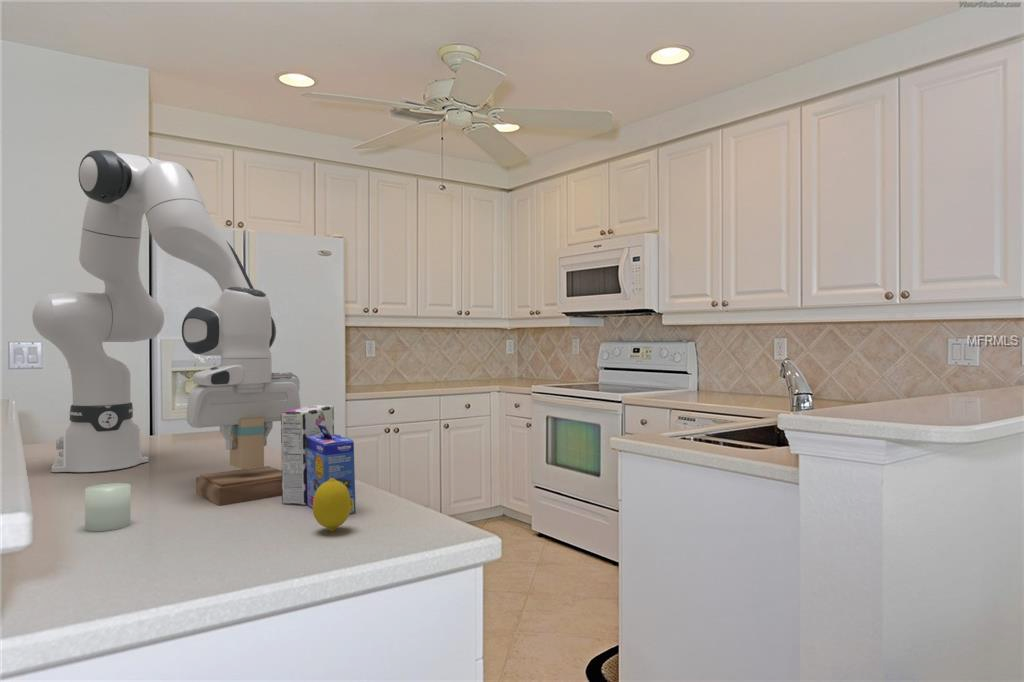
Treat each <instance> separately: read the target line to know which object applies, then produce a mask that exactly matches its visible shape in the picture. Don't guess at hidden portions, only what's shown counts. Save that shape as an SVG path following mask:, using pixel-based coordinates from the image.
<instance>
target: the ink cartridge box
mask: <svg viewBox="0 0 1024 682" xmlns="http://www.w3.org/2000/svg"><path fill="white" fill-rule="evenodd" d="M317 425H318V427H319V429H320V430H321V432H322V433H323V435H312V436H306V450H307V506H308V507H310V508H311V509H313V499H314V495H315V493H316V491H317V489H318V487H319V486H320V485H321V484H323V483H324V482H326V481H328V480H329V479H330V478H334V479H335V480H336V481H339V482H341V483H343V484H344V485H345V486H346V487H347V489H348V491H349V494H350V499H351V509H350V514H354V513H356V510H357V505H356V503H357V501H356V469H355V467H356V466H355V442H354V440H352V439H351V438H349V437H343V436H341V435H339V434H335V433H334V434H330V432H329V431H328V430H327V428H326V427H325V426H322V425H319V424H317ZM323 429H324V430H325V431H326V432H324V431H323Z"/></svg>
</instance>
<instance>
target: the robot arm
mask: <svg viewBox="0 0 1024 682" xmlns="http://www.w3.org/2000/svg"><path fill="white" fill-rule="evenodd" d="M78 183H79V185H80V189H81V190H82V191H83V193H84V195H85V196H86V197H88V200H87V202H86V206H85V210H84V216H83V221H82V228H81V238H80V245H79V256H78V260H79V263H80V266H81V267H82V268H83V270H84V271H86V272H87V273H88V274H90V275H91V276H93V277H95V278H97V279H99V280H101V281H102V282H103V284H104V292H100V293H99V292H80V291H64V292H55V293H48V294H47V293H46V294H44V295H43V296H41V298H39V300H38V301H37V302H36V303H35V304H34V307H33V310H32V317H31V318H32V319H31V320H32V323H33V325H34V328H35V330H36V331H37V332H38V334H39V335H40V336H41V337H42V338H43V339H45V340H47V341H49V342H50V343H52V344H53V345H54V346H55V347H56V348H57V349H58V350H59V351H60V352H61V354H62V355H63V357H64V358H65V360H66V362H67V364H68V366H69V370H70V375H71V376H70V377H71V387H72V388H71V390H72V404H71V405H70V406H69V407H70V409H69V413H68V414H69V421H70V424H69V426H68V428H67V429H66V430H65V431H64V432H63V436H59V438H58V439H56V441H55V449H56V451H59V452H58V457H55V458H54V461H53V463H52V464H51V465H52V466H51V469H50V472H51V473H67V472H68V473H90V472H93V473H95V472H105V471H114V470H120V469H126V468H130V467H134V466H138V465H140V464H144V463H148V462H149V461H150V460H149V456H146V455H142V444H141V442H142V441H141V440H142V439H141V428H140V426H138V424H137V423H135V422H134V421H133V420H132V418H133V417H134V413H133V412H134V407H133V402H132V401H131V372H130V369H129V368H128V366H127V365H126V364H125V363H123V362H122V361H120V360H117V359H116V358H113V357H112V356H109V355H107V353H106V352H105V349H104V345H103V343H135V342H140V341H141V342H142V341H147V340H151V339H154V338H156V337H157V336H158V335H159V334H160V333H161V332H162V329H163V327H164V324H165V313H164V310H163V308H162V306H161V305H160V303H159V302H158V301H157V300H156V299H154V298H153V297H152V296H151V295H150V294H149V293H148V291H147V290H146V289H145V287H144V285H143V283H142V280H141V277H140V272H139V262H140V261H139V260H140V259H139V258H140V248H141V247H140V245H141V237H142V227H143V226H142V225H143V217H144V215H145V218H146V222H147V225H148V228H149V232H150V234H151V236H152V239H153V240H154V241H155V243H156V244H157V246H158V247H159V248H160V249H161V250H162V251H164V252H165V253H166V254H168V255H170V256H171V257H173V258H176V259H179V260H181V261H184V262H186V263H189V264H190V265H193V266H195V267H197V268H199V269H200V270H202V271H204V272H206V273H207V274H209V275H210V276H212V277H211V278H213V279H214V280H215V282H217V284H218V286H219V289H220V291H221V294H220V295H219V297H217V298H216V299H214V300H212V301H210V302H209V303H206V304H204V305H200V306H196V307H193V308H192V309H190V310H189V311H188V312H187V313H186V315H185V316H184V318H183V320H182V325H181V337H182V341H183V343H184V345H185V347H186V348H187V349H188V351H190V352H191V353H192V354H194V355H200V356H205V357H207V356H208V357H209V356H210V357H211V356H213V357H214V356H215V357H216V356H220V364H218V365H215V366H213V367H209V368H207V369H204V370H200V371H197V372H195V373H194V374H193V375H192V382H193V384H195V386H194V387H192V389H191V390H190V391H189V395H188V399H187V405H186V406H187V407H186V422H187V424H189V426H190V427H191V428H195V429H202V428H211V427H213V428H214V427H219V432H220V435H222V437H223V438H224V440H225V448H226V450H228V451H230V450H234V449H237V448H238V446H237V444H238V440H236V439H232V437H231V436H230V433H229V431H231V427H232V425H238V424H239V421H240V419H247V418H259V417H262V418H264V447H266V446H267V437H268V436H269V434H270V433H271V431H272V429H273V422H281V412H285V411H289V410H293V409H298V408H302V407H301V398H300V388H301V387H300V386H301V385H300V384H301V383H300V379H299V377H298V376H297V375H296V374H294V373H293V372H287V371H286V372H273V371H272V370H273V369H272V368H273V367H272V362H273V361H272V358H273V357H272V353H271V350H270V349H271V348H272V346H273V344H274V342H275V339H276V335H277V329H276V328H277V327H276V323H275V321H274V318H273V317H272V312H271V311H272V309H271V304H270V301H269V297H268V295H267V294H266V293H265V292H264V291H261V290H259V289H255V288H254V286H253V285H252V282H251V280H250V278H249V276H248V274H247V272H246V270H245V268H244V266H243V264H242V262H241V260H240V257H239V256H238V254H237V253H236V251H235V249H234V248H233V246H232V245H231V244H230V243H229V242H228V240H226V239H225V238H224V237H223V236H222V235H221V233H220V232H219V230H218V228H216V226H215V224H214V222H213V221H212V219H211V218H210V215H209V214H208V211H207V208H206V206H205V203H204V199H203V197H202V195H201V192H200V190H199V188H198V186H197V184H196V182H195V180H194V177H193V175H192V172H190V171H189V169H187V168H185V166H183V165H182V164H180V163H178V162H175V161H170V160H169V161H168V160H161V159H158V158H155V157H151V156H146V155H144V154H143V155H142V154H141V155H137V154H131V153H123V152H114V151H112V150H107V149H105V150H104V149H100V150H99V149H98V150H90V152H88V153H87V154H85V155H84V157H83V158H82V159H81V161H80V163H79V168H78Z"/></svg>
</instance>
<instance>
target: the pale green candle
mask: <svg viewBox="0 0 1024 682" xmlns="http://www.w3.org/2000/svg"><path fill="white" fill-rule="evenodd" d="M131 490H132V485H131V484H130V483H126V482H125V483H123V482H113V483H110V482H109V483H103V484H94V485H91V486H88V487H85V490H84V530H85V531H88V532H108V531H115V530H119V529H124V528H126V527H128V526H130V525H131V510H132V508H131V505H132V503H131V501H132V500H131V498H132V496H131V493H132V491H131Z"/></svg>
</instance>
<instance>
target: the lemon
mask: <svg viewBox="0 0 1024 682" xmlns="http://www.w3.org/2000/svg"><path fill="white" fill-rule="evenodd" d="M350 509H351V499H350V494H349V491H348V489H347V487H346V486H345V485H344V484H343V483H341V482H339V481H336V480H335V479H334V478H330V479H329V480H328V481H326V482H324V483H323V484H321V485H320V486H319V487H318V489H317V491H316V493H315V495H314V499H313V508H312V513H313V516H314V519H315V521H316V522H317V523H318V524H319V525H320V526H322V527H324V528H326V529H327V530H328V531H329V532H334V531H336V529H337V528H338V527H340V526H341V525H343V524H344V523H345V522H346V521H347V519H348V518H349V516H350V514H351V513H350Z"/></svg>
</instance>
